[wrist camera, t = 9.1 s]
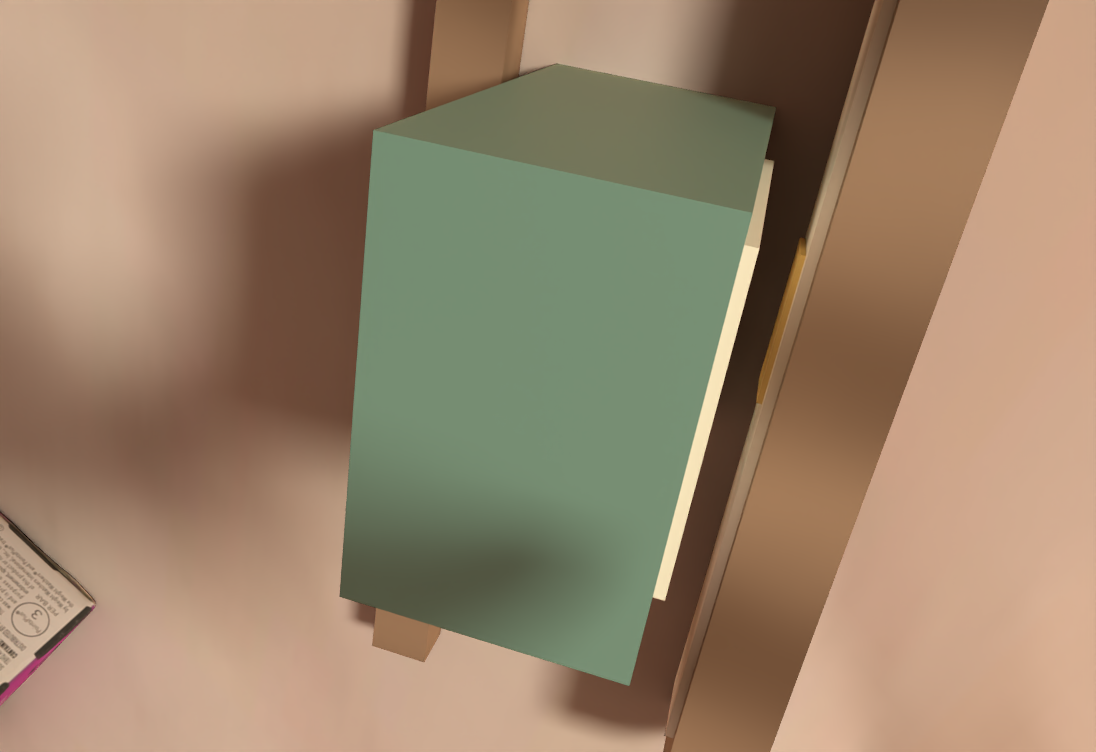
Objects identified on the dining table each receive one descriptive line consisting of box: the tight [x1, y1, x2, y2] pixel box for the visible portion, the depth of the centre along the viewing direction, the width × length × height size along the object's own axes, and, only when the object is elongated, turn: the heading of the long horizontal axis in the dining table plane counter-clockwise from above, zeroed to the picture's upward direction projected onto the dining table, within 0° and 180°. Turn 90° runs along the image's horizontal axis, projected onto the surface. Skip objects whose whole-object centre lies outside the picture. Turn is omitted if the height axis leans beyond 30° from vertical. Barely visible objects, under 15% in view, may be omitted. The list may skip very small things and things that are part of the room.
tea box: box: [340, 64, 776, 686], centre depth 16 cm, size 5×7×9 cm
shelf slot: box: [372, 0, 1049, 752], centre depth 18 cm, size 24×10×4 cm, turn 170°
